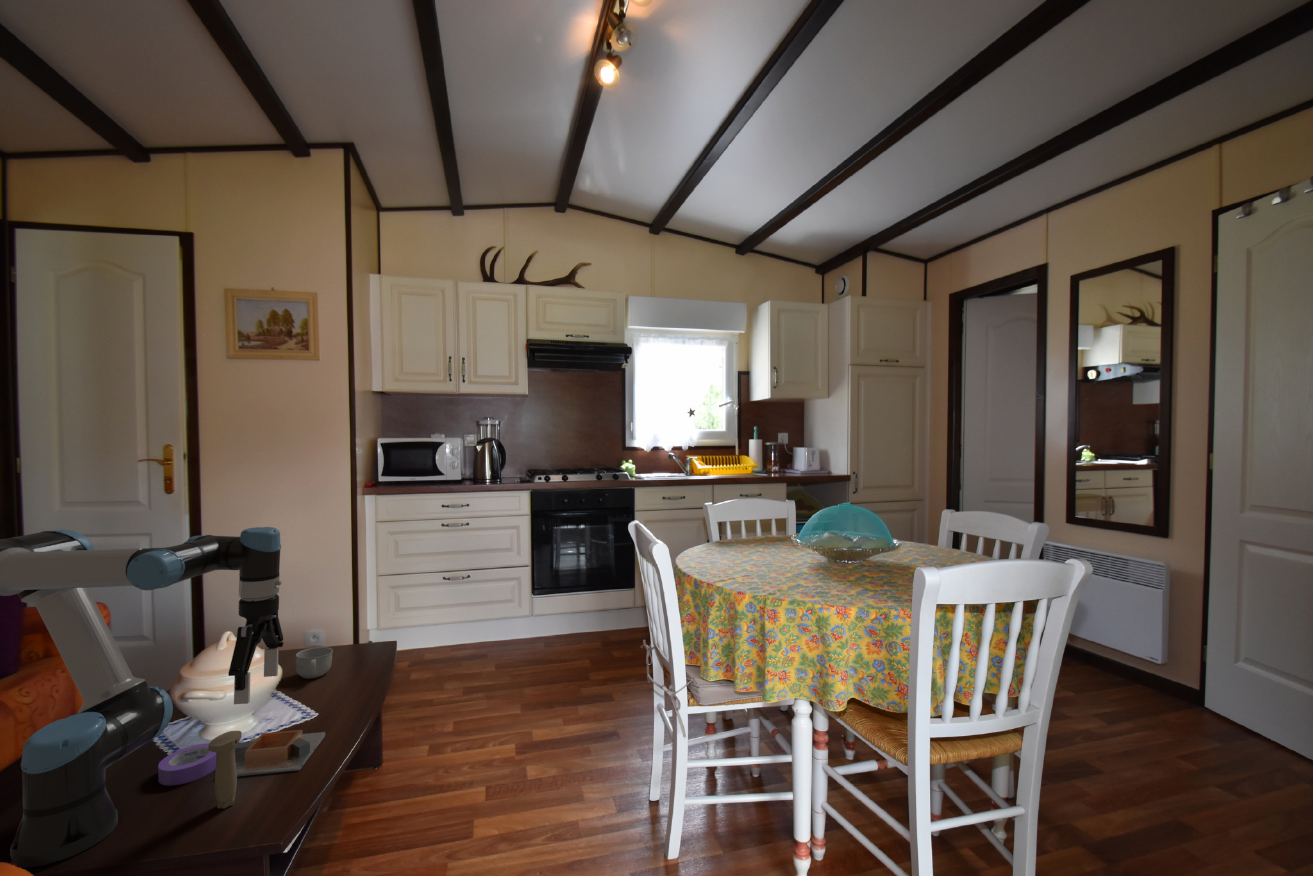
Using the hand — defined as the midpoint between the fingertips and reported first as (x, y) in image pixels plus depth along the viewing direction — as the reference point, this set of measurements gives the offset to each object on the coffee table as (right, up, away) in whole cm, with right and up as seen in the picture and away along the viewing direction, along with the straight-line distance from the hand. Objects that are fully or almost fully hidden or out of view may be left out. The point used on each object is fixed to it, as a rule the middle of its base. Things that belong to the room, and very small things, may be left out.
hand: (257, 689), depth 128 cm
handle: (-5, -25, -3) cm, 26 cm away
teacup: (-25, -24, +63) cm, 72 cm away
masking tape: (-24, -25, +10) cm, 36 cm away
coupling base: (-7, -24, +16) cm, 30 cm away
